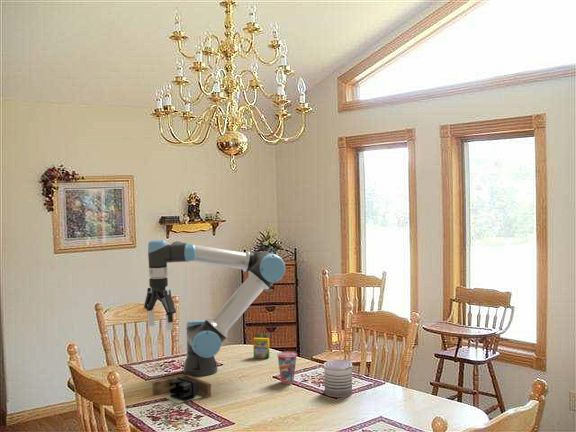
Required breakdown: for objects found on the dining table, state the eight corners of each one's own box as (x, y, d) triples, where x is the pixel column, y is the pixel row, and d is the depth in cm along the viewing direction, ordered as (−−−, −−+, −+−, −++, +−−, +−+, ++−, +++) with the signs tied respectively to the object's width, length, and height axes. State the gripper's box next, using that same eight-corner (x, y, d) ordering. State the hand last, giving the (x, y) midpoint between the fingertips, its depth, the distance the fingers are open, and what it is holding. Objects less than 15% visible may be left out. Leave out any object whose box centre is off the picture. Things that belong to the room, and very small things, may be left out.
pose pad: (190, 392, 259) (190, 391, 259) (201, 397, 252) (201, 396, 252) (165, 397, 252) (165, 397, 252) (177, 403, 245) (177, 402, 245)
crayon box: (253, 358, 311) (253, 334, 310) (254, 356, 314) (254, 333, 313) (268, 358, 309) (268, 334, 309) (269, 357, 312) (269, 333, 312)
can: (358, 392, 256) (358, 362, 255) (340, 399, 248) (340, 368, 247) (336, 386, 264) (335, 357, 263) (318, 393, 255) (317, 363, 255)
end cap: (199, 397, 251) (199, 380, 251) (185, 401, 246) (185, 384, 246) (183, 392, 258) (182, 375, 257) (168, 396, 252) (168, 379, 252)
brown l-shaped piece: (187, 386, 266) (187, 374, 266) (211, 396, 253) (210, 383, 252) (152, 394, 256) (152, 381, 256) (175, 405, 242) (174, 392, 242)
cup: (274, 384, 268) (273, 355, 268) (282, 378, 276) (281, 350, 276) (295, 386, 265) (294, 357, 264) (302, 380, 273) (302, 352, 272)
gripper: (134, 276, 275) (136, 325, 276) (167, 280, 257) (169, 333, 258) (149, 274, 280) (151, 322, 281) (183, 278, 262) (185, 330, 263)
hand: (160, 327), depth 270 cm, fingers open, 13 cm apart
